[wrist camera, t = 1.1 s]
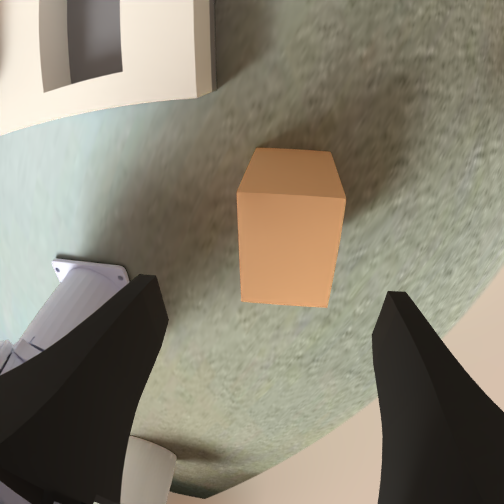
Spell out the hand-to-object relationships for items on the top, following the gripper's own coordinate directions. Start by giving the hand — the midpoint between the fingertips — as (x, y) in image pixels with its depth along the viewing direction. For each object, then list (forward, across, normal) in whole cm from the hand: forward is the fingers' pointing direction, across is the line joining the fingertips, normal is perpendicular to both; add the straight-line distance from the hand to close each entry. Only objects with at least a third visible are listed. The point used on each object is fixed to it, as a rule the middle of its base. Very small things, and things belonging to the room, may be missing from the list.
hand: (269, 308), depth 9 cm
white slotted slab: (+9, +14, -11) cm, 20 cm away
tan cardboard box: (+10, 0, +1) cm, 10 cm away
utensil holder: (+10, +26, +58) cm, 65 cm away
